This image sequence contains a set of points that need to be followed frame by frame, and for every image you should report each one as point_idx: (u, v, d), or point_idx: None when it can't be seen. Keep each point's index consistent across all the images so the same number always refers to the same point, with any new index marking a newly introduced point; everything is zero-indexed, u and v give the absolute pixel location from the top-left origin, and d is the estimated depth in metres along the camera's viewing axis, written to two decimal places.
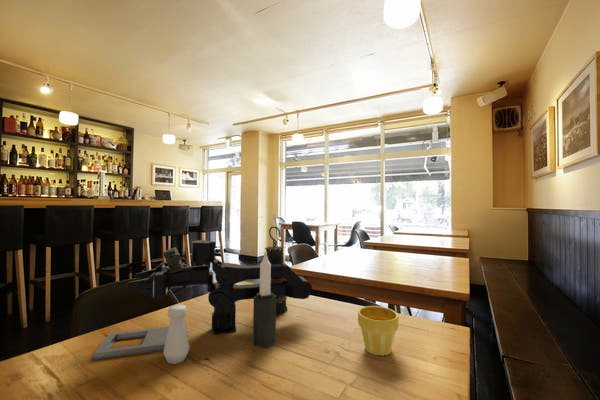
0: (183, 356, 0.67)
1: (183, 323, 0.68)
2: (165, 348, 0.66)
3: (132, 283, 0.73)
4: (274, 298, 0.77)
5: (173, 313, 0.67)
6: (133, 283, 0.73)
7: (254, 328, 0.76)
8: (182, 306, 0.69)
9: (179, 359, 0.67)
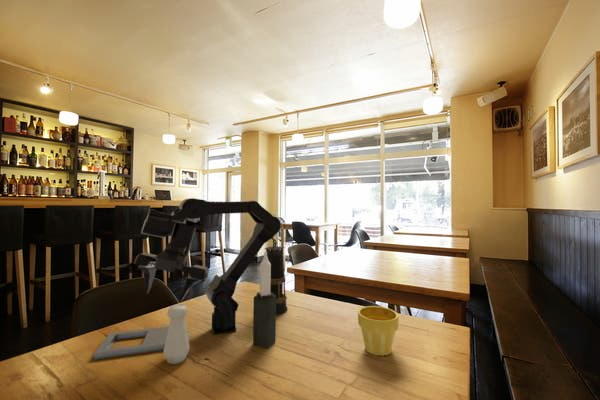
0: (183, 356, 0.67)
1: (183, 323, 0.68)
2: (165, 348, 0.66)
3: (184, 296, 0.77)
4: (274, 298, 0.77)
5: (173, 313, 0.66)
6: (184, 295, 0.77)
7: (254, 328, 0.76)
8: (182, 306, 0.69)
9: (179, 359, 0.67)
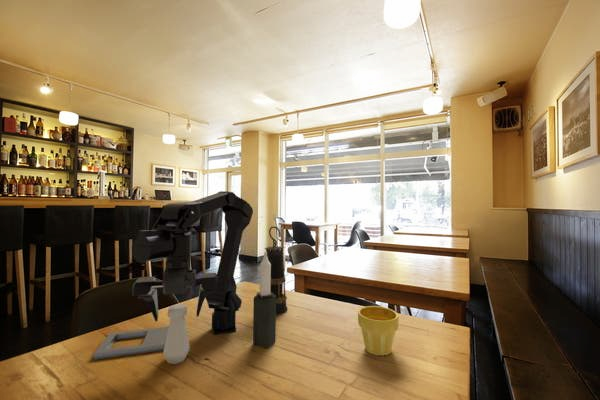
0: (183, 356, 0.67)
1: (183, 323, 0.68)
2: (165, 348, 0.66)
3: None
4: (274, 298, 0.77)
5: (173, 313, 0.67)
6: (200, 309, 0.70)
7: (254, 328, 0.76)
8: (182, 306, 0.69)
9: (179, 359, 0.67)
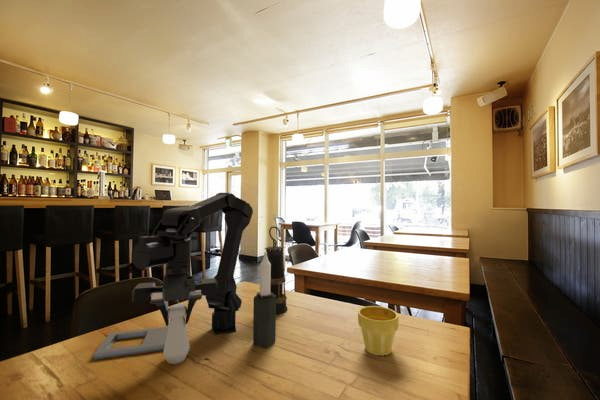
0: (183, 356, 0.67)
1: (183, 323, 0.68)
2: (165, 348, 0.66)
3: (189, 317, 0.69)
4: (274, 298, 0.77)
5: (173, 313, 0.67)
6: None
7: (254, 328, 0.76)
8: (182, 306, 0.69)
9: (179, 359, 0.67)
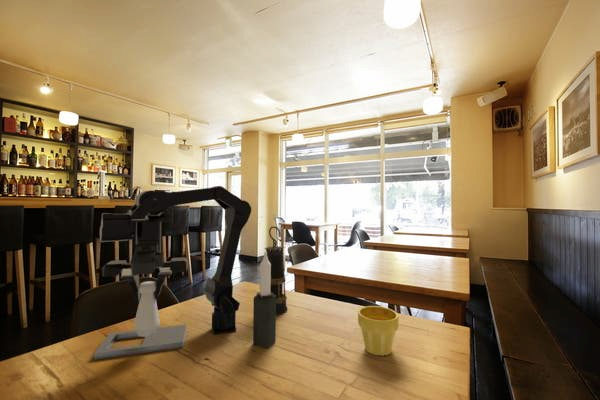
0: (152, 329, 0.71)
1: (153, 299, 0.72)
2: (135, 322, 0.70)
3: (159, 293, 0.73)
4: (274, 298, 0.77)
5: (143, 289, 0.70)
6: (159, 292, 0.73)
7: (254, 328, 0.76)
8: (152, 282, 0.72)
9: (148, 332, 0.70)
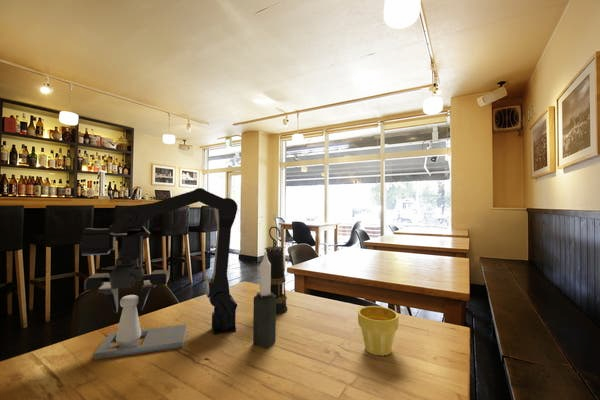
0: (134, 342, 0.74)
1: (134, 312, 0.75)
2: (117, 334, 0.73)
3: None
4: (274, 298, 0.77)
5: (124, 303, 0.73)
6: (144, 303, 0.76)
7: (254, 328, 0.76)
8: (134, 296, 0.75)
9: (129, 344, 0.73)
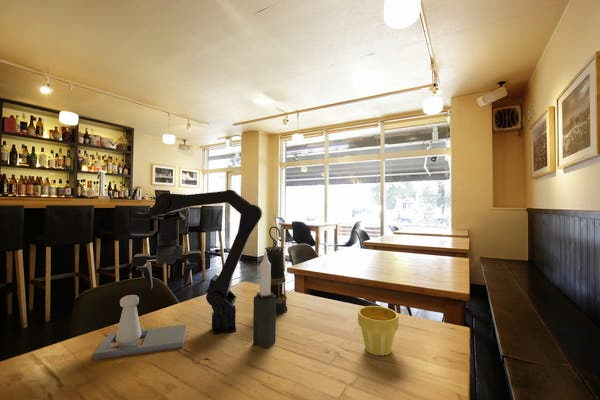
0: (134, 342, 0.74)
1: (134, 312, 0.75)
2: (117, 334, 0.73)
3: None
4: (274, 298, 0.77)
5: (124, 303, 0.73)
6: (187, 279, 0.86)
7: (254, 328, 0.76)
8: (134, 296, 0.75)
9: (129, 344, 0.73)
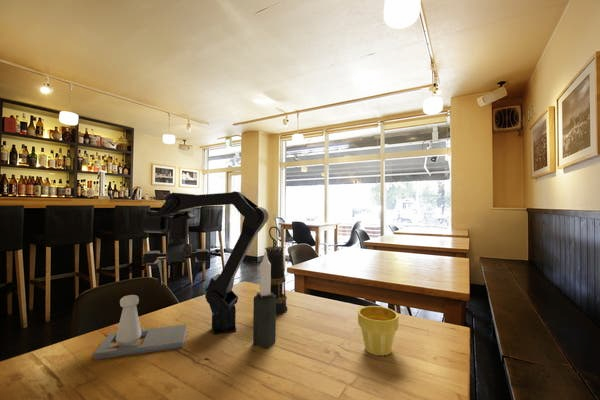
0: (134, 342, 0.74)
1: (134, 312, 0.75)
2: (117, 334, 0.73)
3: (195, 277, 0.88)
4: (274, 298, 0.77)
5: (124, 303, 0.73)
6: (195, 276, 0.88)
7: (254, 328, 0.76)
8: (134, 296, 0.75)
9: (129, 344, 0.73)
